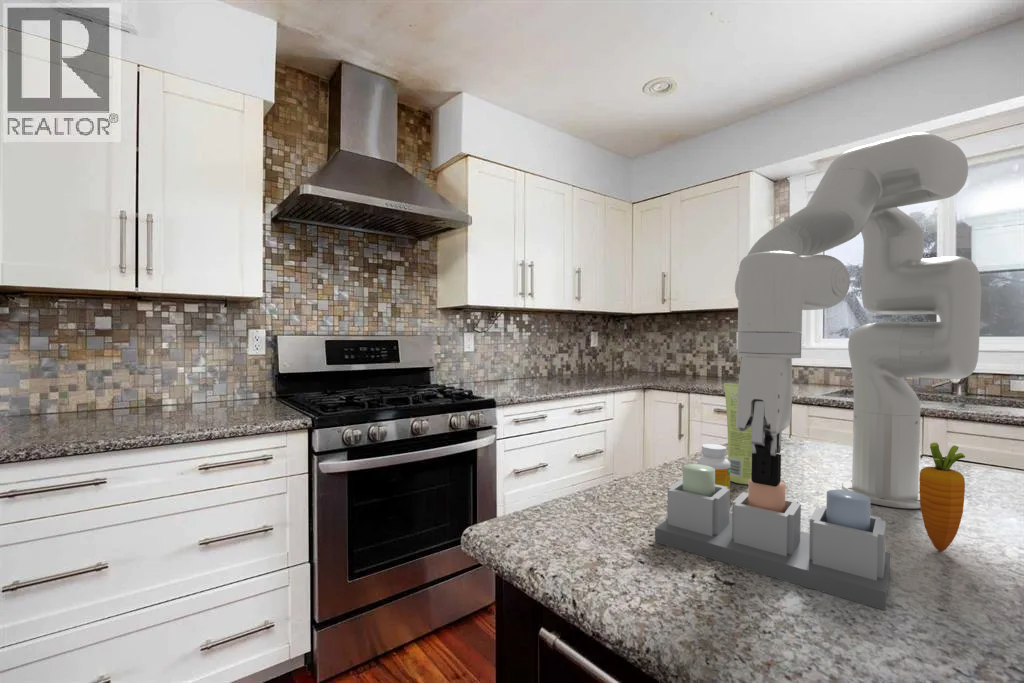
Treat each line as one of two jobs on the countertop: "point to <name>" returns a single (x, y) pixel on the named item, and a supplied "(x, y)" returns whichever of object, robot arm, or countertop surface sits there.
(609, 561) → the countertop surface
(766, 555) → the three-cup grey tray
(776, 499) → the button terracotta
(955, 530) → the carrot
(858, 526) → the button slate
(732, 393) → the tube
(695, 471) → the button sage
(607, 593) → the countertop surface
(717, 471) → the supplement bottle
